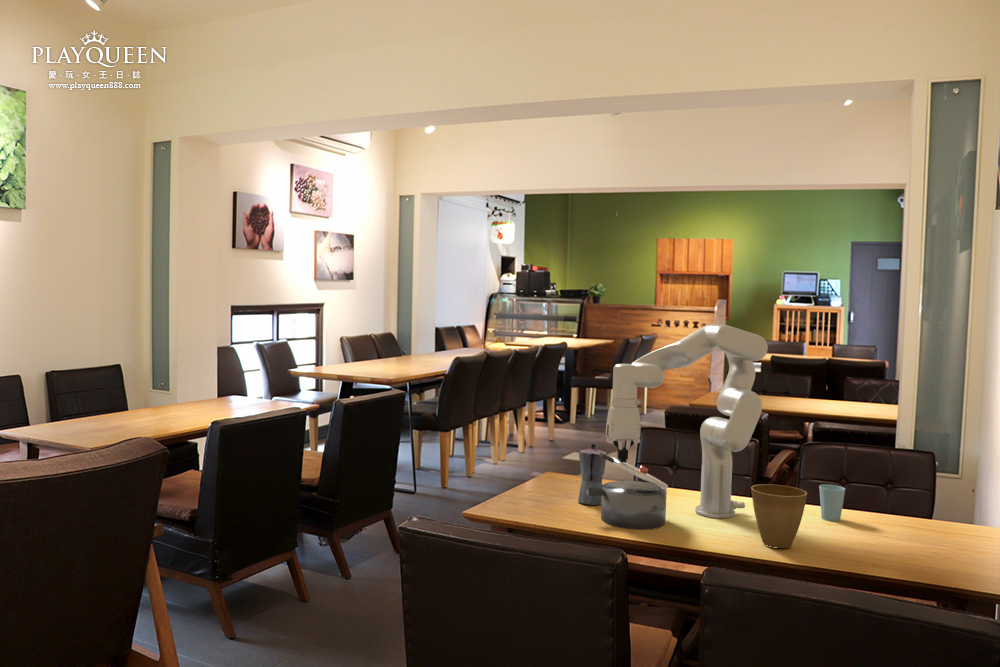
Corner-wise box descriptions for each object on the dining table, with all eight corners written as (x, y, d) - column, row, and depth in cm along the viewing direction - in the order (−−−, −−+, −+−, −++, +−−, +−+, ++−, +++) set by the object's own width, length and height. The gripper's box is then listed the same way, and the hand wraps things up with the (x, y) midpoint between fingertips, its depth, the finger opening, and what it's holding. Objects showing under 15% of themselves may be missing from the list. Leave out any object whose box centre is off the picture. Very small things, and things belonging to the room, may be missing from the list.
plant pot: (816, 549, 205) (818, 493, 204) (780, 557, 197) (782, 498, 197) (772, 534, 218) (775, 481, 217) (737, 541, 210) (740, 486, 210)
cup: (830, 523, 231) (831, 490, 231) (812, 516, 238) (814, 485, 238) (849, 521, 233) (850, 489, 233) (831, 515, 241) (832, 483, 240)
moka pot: (604, 497, 255) (606, 441, 254) (606, 510, 239) (608, 449, 238) (577, 496, 255) (579, 440, 255) (577, 508, 240) (579, 448, 239)
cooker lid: (653, 480, 239) (657, 471, 239) (675, 495, 220) (680, 486, 220) (592, 450, 236) (596, 441, 236) (609, 463, 217) (613, 454, 217)
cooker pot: (652, 510, 240) (653, 480, 240) (675, 529, 220) (676, 496, 220) (578, 511, 236) (579, 481, 236) (595, 530, 217) (596, 497, 216)
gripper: (643, 402, 231) (641, 459, 232) (597, 401, 229) (596, 459, 230) (651, 405, 224) (649, 464, 225) (604, 404, 222) (602, 464, 223)
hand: (622, 461), depth 227 cm, fingers closed
